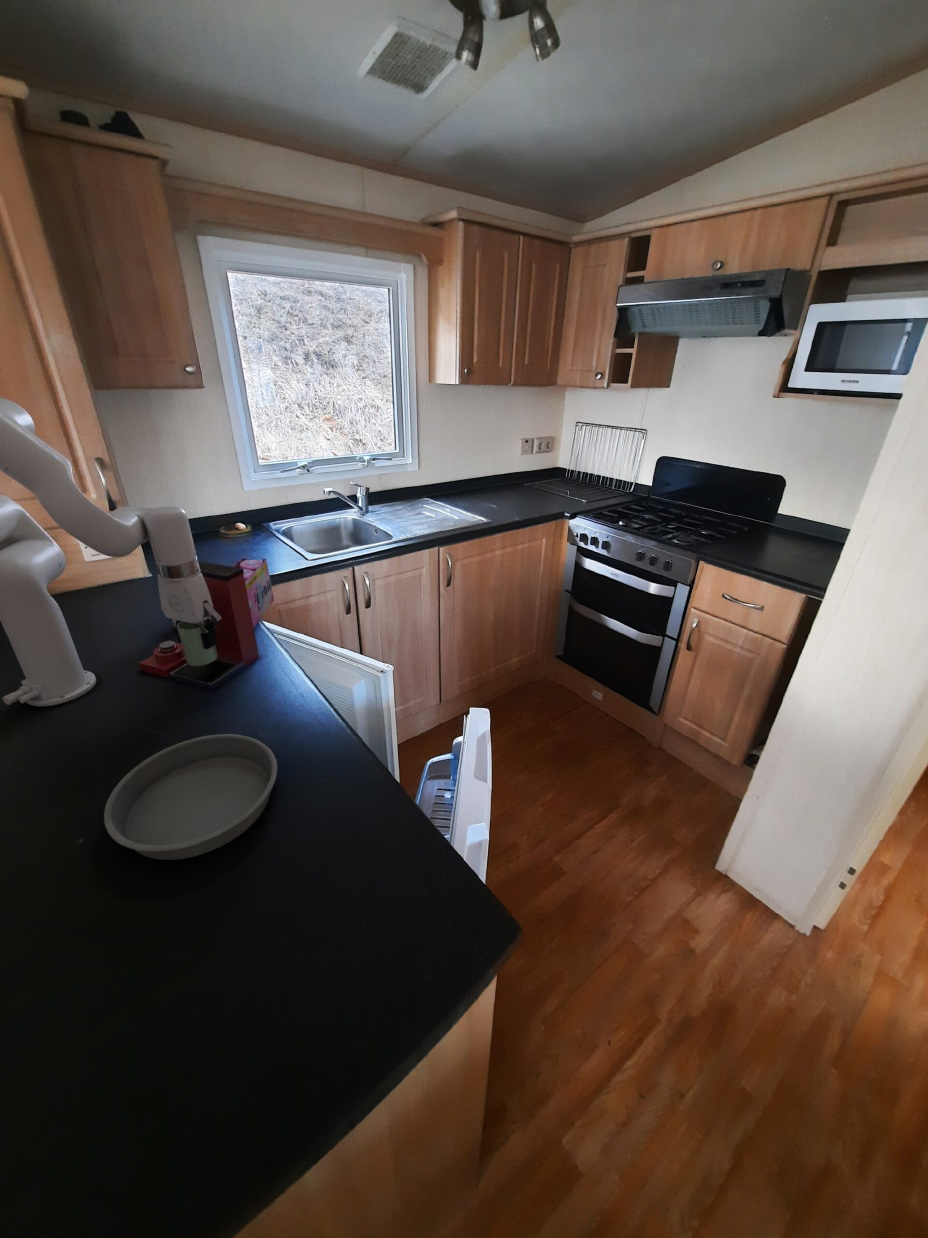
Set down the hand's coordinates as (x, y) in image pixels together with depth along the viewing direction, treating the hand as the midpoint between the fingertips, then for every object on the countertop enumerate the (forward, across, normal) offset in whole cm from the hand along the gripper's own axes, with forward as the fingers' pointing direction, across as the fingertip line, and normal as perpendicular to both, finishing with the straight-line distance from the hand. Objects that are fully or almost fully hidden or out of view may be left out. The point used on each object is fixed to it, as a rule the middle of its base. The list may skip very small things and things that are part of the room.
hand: (198, 642), depth 113 cm
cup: (+4, 0, 0) cm, 4 cm away
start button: (+5, -11, +1) cm, 12 cm away
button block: (+8, -11, +1) cm, 14 cm away
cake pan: (+9, +29, -30) cm, 43 cm away
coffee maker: (+8, 0, +3) cm, 9 cm away
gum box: (+9, -12, +28) cm, 32 cm away
